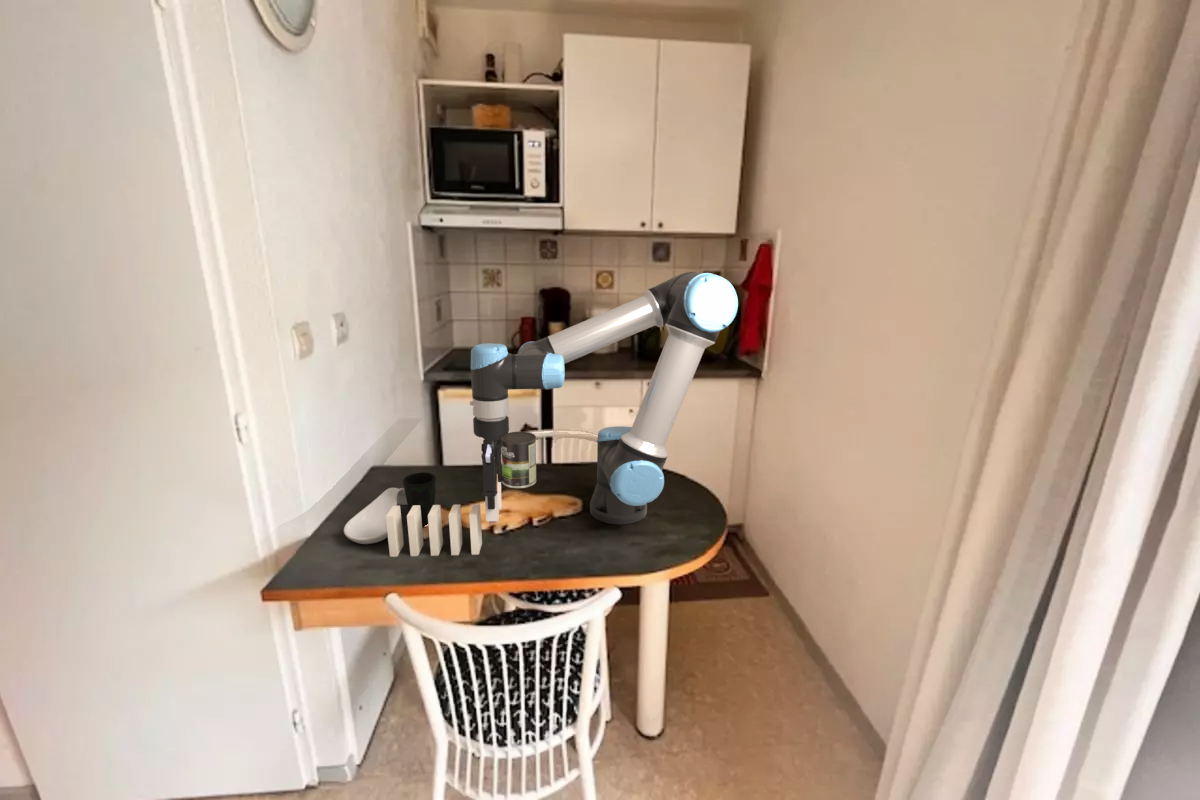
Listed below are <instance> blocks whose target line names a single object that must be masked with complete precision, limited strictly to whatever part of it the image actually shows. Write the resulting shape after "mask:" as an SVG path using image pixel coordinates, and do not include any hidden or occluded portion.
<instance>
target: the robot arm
mask: <svg viewBox="0 0 1200 800" xmlns="http://www.w3.org/2000/svg"><path fill="white" fill-rule="evenodd" d="M738 307H739V299H738V295H737V291H736V289H735V288H734V286H733V284H732V283H731V282H730V281H729V280H728V279H726V278H724V277H722V276H720V275H717V274H713V273H711V272H704V273H701V272H694V271H693V272H692V271H690V272H688V271H687V272H685V273H680V274H678V275H675V276H674V277H671V278H669V279H667V280H664V281H663V282H661V283H659V284H657V285H655V286H653V287H650V288H648V289H646V290H645V291H644V293H643V295H642V296H640V297H638V298H636V299H633V300H631V301H628V302H626V303H623V304H621V305H619V306H617V307H614V308H612V309H609V310H607V311H605V312H602V313H600V314H598V315H595V316H593V317H590V318H588V319H586V320H584V321H581V322H579V323H576V324H575V325H572V326H569V327H567V328H565V329H563V330H560V331H558V332H555V333H553V334H550V335H548V336H546V337H544V338H541V339H539V340H536V341H534V340H533V341H527V342H525V343H523V344H522V345H521V346H520V348H519V349H518V351H517V353H516V354H515V353H513V354H512V353H509V352H508V348H507V346H506V345H505V344H502V343H494V342H493V343H492V342H489V343H480V344H476V345H474V346H473V347H472V348H471V350H470V378H471V395H472V396H471V397H472V400H470V402H469V405H470V406H473V407H472V415H473V416H474V417H473V419H472V420H473V421H472V423H473V424H472V425H473V434H474V436H476V437H478V438H482V439H483V441H482V443H481V461H482V462H481V463H482V482H483V487H482V488H483V491H482V492H481V496H483V497H484V500H485V501H484V503H485V506H484V507H485V522H489V521H497V522H499V520H500V519H499V518H500V513H499V511H500V510H502V508H503V507H502V503H503V502H502V481H504V477H502V450H501V446H502V440H501V437H502V436H505V435H506V434H508V433H510V432H509V431H510V425H509V424H510V423H509V422H510V421H509V419H510V418H509V416H508V415H509V413H510V404H509V402H510V401H509V400H510V399H509V390H553V389H560V388H562V387H563V386H564V384H565V379H566V378H565V377H566V375H565V373H566V372H565V369H566V368H565V364H567V363H570V362H571V361H574V360H577V359H579V358H582V357H584V356H586V355H588V354H590V353H593V352H595V351H598V350H601V349H602V348H604V347H608V346H610V345H612V344H615V343H618V342H619V341H621V340H624V339H626V338H629V337H631V336H633V335H635V334H637V333H641V332H643V331H645V330H648V329H649V328H652V327H655V326H656V327H658V328H663V327H666V329H667V332H668V335H667V337H666V338H667V339H666V340H665V343H664V346H663V348H662V351H661V353H660V356H659V358H658V361H657V363H656V365H655V369H654V371H653V373H652V376H651V378H650V381H649V383H648V385H647V388H646V391H645V393H644V396H643V399H642V401H641V403H640V406H639V409H638V411H637V412H636V413H637V414H636V416H635V419H634V422H633V424H632V426H625V425H624V426H623V425H622V426H621V425H620V426H618V425H617V426H610V427H609V426H608V427H604V428H602V429H600V430H599V431H598V432H597V440H596V443H597V445H596V446H597V450H596V451H597V453H596V455H597V457H596V484H595V488H594V490H593V493H592V495H591V498H590V501H589V512H590V515H591V516H592V517H593V518H595V520H598V521H599V522H602V523H606V524H611V525H630V524H633V523H637V522H639V521H641V520H643V519H644V518H645V517H646V515H647V512H648V511H647V510H648V503H652V502H653V501H655V499H658V497H659V496H660V494H661V493H662V491H663V489H664V487H665V486H664V485H665V476H664V473H663V468H664V466H665V464H666V461H667V458H668V456H669V453H668V450H667V448H666V443H667V441H668V440H669V436H670V434H671V432H672V429H673V427H674V425H675V421H676V420H677V417H678V414H679V412H680V410H681V407H682V405H683V403H684V401H685V398H686V395H687V392H688V390H689V388H690V385H691V383H692V381H693V379H694V376H695V374H696V371H697V368H698V366H699V365H700V362H701V359H702V356H703V355H704V352H705V349H707V348H708V347H711V346H712V345H714V344H716V341H717V339H718V336H719V334H720V332H721V331H722V330H724V329H725V328H728V326H730V324H732V322H733V321H734V319H735V318H736V316H737V313H738ZM497 474H498V493H497ZM498 505H499V509H498Z"/></svg>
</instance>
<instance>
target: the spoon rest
mask: <svg viewBox="0 0 1200 800" xmlns="http://www.w3.org/2000/svg"><path fill="white" fill-rule="evenodd" d="M401 505H402V506H408V505H407V500H406V495H405V490H404V487H402V488H398V487H389V488H387V489H385V490H384V491H383V492H382V493H380V494H379V496H377V497H376V498H375V499H374V500H372V501H371V502H370V503H369V504H368V505H366V506H365V507H364V508H362V510H360V511H359V512H358V513H357V514H355V515H354V516H353V517H352V518H350V519H349V520H348V521H347V522H346V523H345V525H344V527H343V534H344V535H345V537H347V538H348V539H349V540H351V542H355V543H357V544H362V545H369V544H376V543H379V542H382V541H384V540H385V539H388V533H387V524H386V515H387V514H388V512H389V511H390V509H391V508H392V506H401Z"/></svg>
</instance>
